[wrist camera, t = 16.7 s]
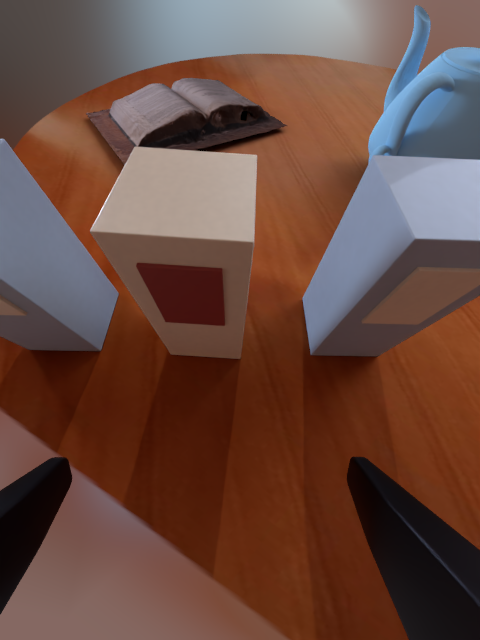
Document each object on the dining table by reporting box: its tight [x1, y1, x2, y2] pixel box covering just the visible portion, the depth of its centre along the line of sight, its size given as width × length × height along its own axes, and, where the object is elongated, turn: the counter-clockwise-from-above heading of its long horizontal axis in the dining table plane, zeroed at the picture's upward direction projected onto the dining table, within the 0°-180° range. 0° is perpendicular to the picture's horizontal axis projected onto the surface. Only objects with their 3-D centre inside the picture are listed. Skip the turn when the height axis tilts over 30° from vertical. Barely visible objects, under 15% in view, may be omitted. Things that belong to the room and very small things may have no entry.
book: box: [86, 78, 287, 164], centre depth 38 cm, size 20×28×4 cm
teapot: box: [368, 5, 480, 162], centre depth 27 cm, size 16×20×14 cm
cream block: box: [90, 147, 257, 359], centre depth 15 cm, size 6×6×13 cm
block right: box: [303, 155, 480, 356], centre depth 16 cm, size 6×6×13 cm
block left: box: [0, 139, 119, 351], centre depth 15 cm, size 6×6×13 cm
